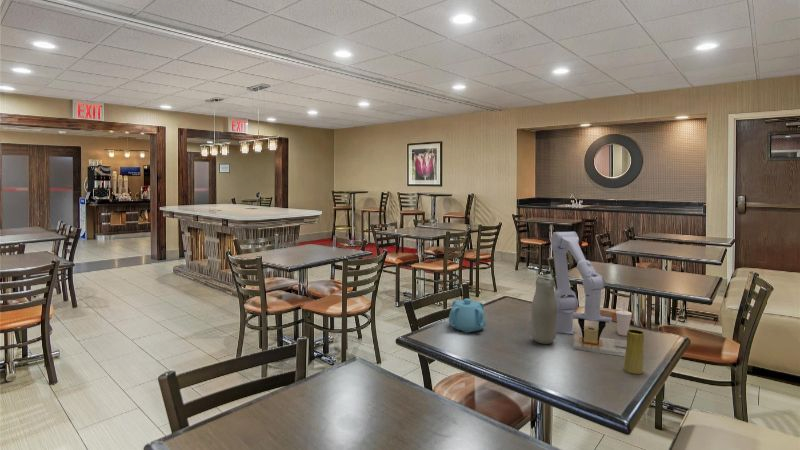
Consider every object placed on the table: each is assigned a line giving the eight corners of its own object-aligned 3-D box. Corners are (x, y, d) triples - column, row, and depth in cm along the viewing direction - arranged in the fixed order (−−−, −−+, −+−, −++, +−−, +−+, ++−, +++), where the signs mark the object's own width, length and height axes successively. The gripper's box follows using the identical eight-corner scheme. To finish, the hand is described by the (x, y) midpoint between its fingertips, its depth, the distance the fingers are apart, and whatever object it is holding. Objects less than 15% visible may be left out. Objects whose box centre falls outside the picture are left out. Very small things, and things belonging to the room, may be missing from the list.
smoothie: (627, 331, 199) (629, 301, 197) (633, 337, 192) (635, 305, 191) (612, 331, 199) (614, 300, 198) (617, 336, 193) (619, 304, 191)
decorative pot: (487, 325, 206) (488, 296, 205) (483, 336, 191) (483, 305, 190) (452, 321, 211) (453, 293, 210) (445, 332, 196) (446, 302, 195)
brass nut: (583, 344, 181) (584, 329, 180) (583, 339, 185) (584, 325, 185) (597, 345, 179) (598, 331, 178) (597, 341, 184) (597, 327, 183)
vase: (620, 367, 161) (622, 328, 160) (636, 366, 162) (638, 328, 160) (630, 374, 155) (632, 334, 154) (646, 374, 156) (649, 334, 154)
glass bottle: (556, 340, 187) (559, 274, 184) (554, 348, 178) (557, 279, 175) (532, 336, 191) (535, 272, 188) (528, 344, 182) (531, 277, 179)
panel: (573, 349, 178) (573, 345, 178) (574, 337, 191) (574, 333, 191) (642, 359, 169) (643, 355, 169) (639, 345, 182) (639, 342, 182)
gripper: (572, 305, 180) (571, 338, 181) (612, 310, 174) (610, 344, 176) (573, 301, 186) (571, 333, 188) (612, 305, 181) (610, 338, 182)
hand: (590, 338), depth 182 cm, fingers closed on brass nut, 5 cm apart
